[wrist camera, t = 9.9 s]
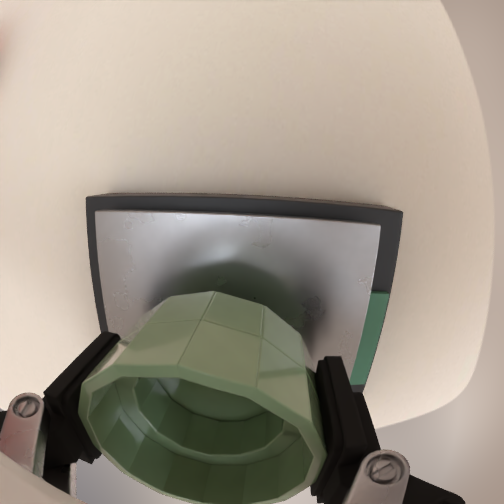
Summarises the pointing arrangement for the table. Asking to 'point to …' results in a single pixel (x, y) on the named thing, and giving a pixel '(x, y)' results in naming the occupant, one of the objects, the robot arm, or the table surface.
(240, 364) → the bowl
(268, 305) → the platform
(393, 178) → the table surface
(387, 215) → the scale base
